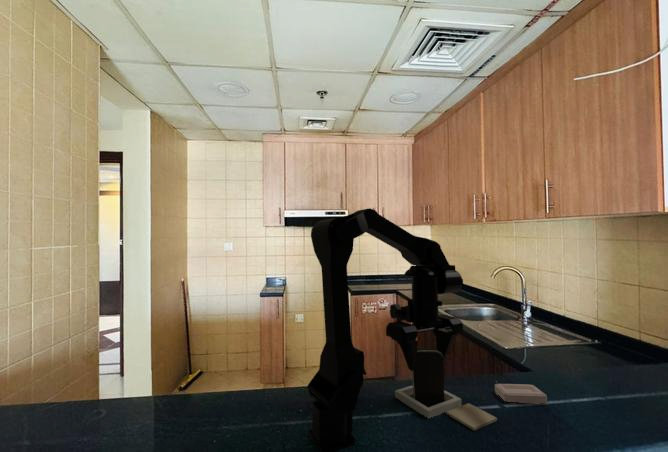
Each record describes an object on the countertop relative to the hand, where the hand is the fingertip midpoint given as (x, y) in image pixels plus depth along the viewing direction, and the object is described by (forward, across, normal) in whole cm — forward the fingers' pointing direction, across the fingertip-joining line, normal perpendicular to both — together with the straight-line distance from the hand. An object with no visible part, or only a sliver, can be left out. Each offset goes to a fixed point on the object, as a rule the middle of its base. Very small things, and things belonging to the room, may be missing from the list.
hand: (426, 366), depth 67 cm
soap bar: (+8, -20, +9) cm, 24 cm away
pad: (+8, -3, +9) cm, 12 cm away
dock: (+8, 0, 0) cm, 8 cm away
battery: (+8, 0, 0) cm, 8 cm away
